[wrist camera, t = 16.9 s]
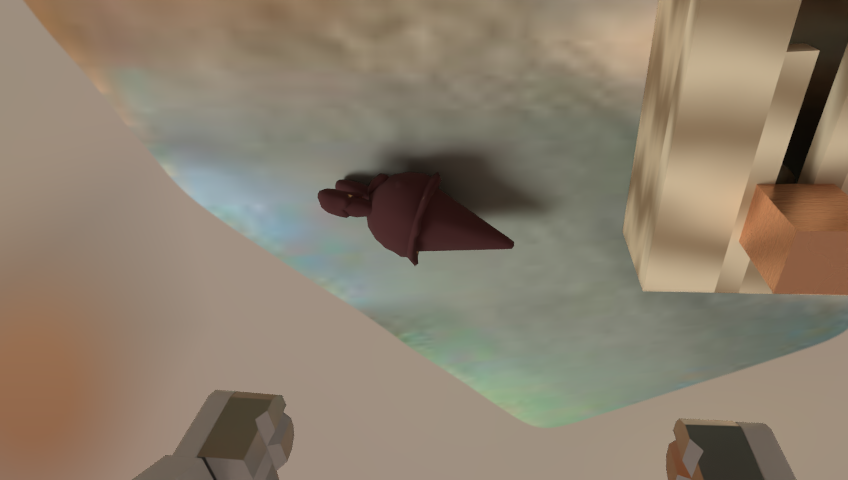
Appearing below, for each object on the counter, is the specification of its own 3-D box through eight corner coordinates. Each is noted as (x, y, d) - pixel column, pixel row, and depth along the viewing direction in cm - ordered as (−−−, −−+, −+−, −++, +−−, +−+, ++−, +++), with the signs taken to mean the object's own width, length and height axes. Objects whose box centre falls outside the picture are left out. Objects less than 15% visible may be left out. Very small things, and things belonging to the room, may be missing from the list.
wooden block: (731, 155, 32) (797, 231, 25) (800, 153, 32) (888, 231, 24) (716, 208, 35) (773, 293, 27) (781, 208, 34) (856, 295, 27)
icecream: (531, 212, 34) (319, 149, 35) (497, 307, 36) (301, 246, 37) (528, 189, 40) (350, 136, 41) (499, 271, 43) (332, 220, 44)
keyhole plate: (681, -141, 27) (731, -152, 21) (982, -173, 25) (1135, -197, 19) (622, 231, 41) (642, 291, 34) (816, 231, 38) (875, 296, 32)
